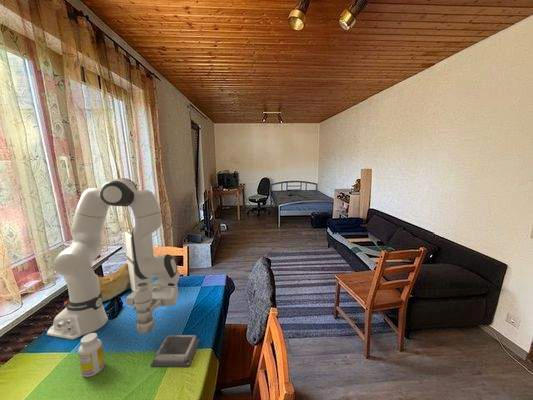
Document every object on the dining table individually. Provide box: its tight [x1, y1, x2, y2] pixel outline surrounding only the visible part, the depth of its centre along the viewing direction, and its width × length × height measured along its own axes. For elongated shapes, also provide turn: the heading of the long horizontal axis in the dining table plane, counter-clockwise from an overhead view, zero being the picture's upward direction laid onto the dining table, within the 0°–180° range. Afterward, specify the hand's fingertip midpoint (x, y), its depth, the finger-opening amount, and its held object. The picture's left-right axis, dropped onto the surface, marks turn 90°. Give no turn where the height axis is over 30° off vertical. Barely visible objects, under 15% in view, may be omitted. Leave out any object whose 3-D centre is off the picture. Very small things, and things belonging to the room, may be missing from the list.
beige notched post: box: [124, 231, 155, 293], centre depth 136 cm, size 11×11×35 cm
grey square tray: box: [150, 334, 201, 368], centre depth 92 cm, size 14×13×3 cm
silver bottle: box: [134, 283, 156, 335], centre depth 95 cm, size 6×7×20 cm
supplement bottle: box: [77, 332, 105, 378], centre depth 84 cm, size 7×7×13 cm
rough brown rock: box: [98, 263, 130, 303], centre depth 136 cm, size 23×17×15 cm
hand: (142, 308), depth 95 cm, fingers closed on silver bottle, 5 cm apart
